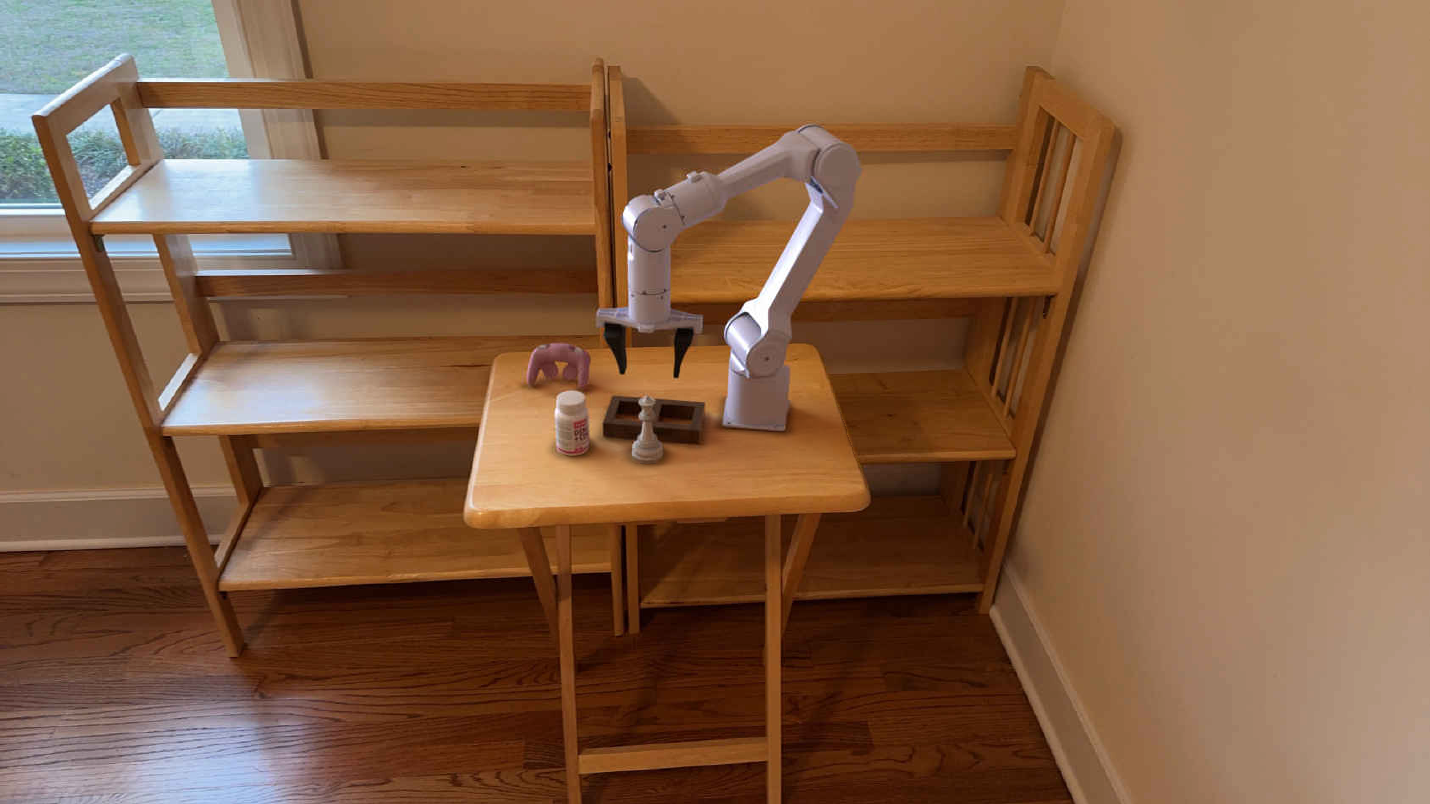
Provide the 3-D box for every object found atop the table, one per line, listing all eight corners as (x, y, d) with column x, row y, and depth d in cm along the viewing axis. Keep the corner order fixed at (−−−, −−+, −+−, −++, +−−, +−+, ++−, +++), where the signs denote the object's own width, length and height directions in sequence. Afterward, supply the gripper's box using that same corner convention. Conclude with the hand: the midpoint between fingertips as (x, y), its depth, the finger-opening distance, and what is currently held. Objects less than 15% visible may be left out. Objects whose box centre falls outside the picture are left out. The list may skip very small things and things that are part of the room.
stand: (704, 416, 146) (705, 402, 145) (699, 444, 139) (699, 430, 138) (612, 408, 147) (612, 395, 146) (603, 437, 140) (602, 423, 139)
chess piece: (666, 461, 136) (666, 402, 130) (635, 466, 134) (635, 406, 129) (658, 444, 139) (658, 385, 134) (629, 448, 138) (628, 389, 133)
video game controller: (591, 388, 155) (594, 345, 154) (585, 390, 150) (588, 346, 149) (531, 383, 155) (533, 340, 155) (523, 385, 151) (526, 341, 150)
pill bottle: (580, 459, 135) (578, 409, 131) (550, 452, 137) (547, 402, 132) (595, 442, 139) (593, 393, 135) (566, 435, 140) (563, 386, 136)
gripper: (590, 295, 126) (594, 383, 133) (700, 302, 125) (698, 390, 132) (600, 273, 132) (603, 358, 139) (705, 279, 131) (702, 365, 138)
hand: (649, 372), depth 136 cm, fingers open, 7 cm apart
